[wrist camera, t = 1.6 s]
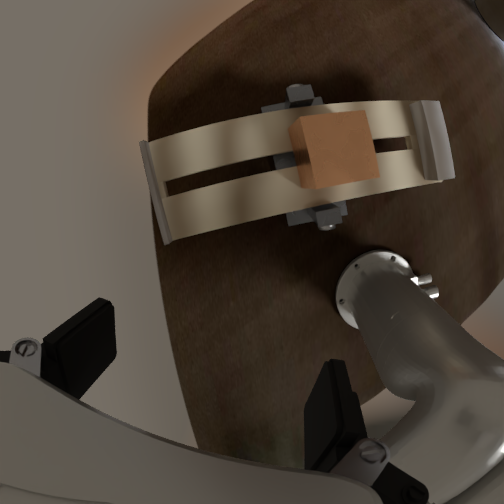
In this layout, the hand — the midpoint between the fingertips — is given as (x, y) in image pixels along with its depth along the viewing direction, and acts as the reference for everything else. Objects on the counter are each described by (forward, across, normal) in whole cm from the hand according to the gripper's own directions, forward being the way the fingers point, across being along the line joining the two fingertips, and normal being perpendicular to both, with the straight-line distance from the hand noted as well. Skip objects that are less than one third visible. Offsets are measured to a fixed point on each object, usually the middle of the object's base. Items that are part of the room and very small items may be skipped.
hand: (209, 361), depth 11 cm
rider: (+20, -4, -11) cm, 23 cm away
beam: (+20, -4, -11) cm, 23 cm away
